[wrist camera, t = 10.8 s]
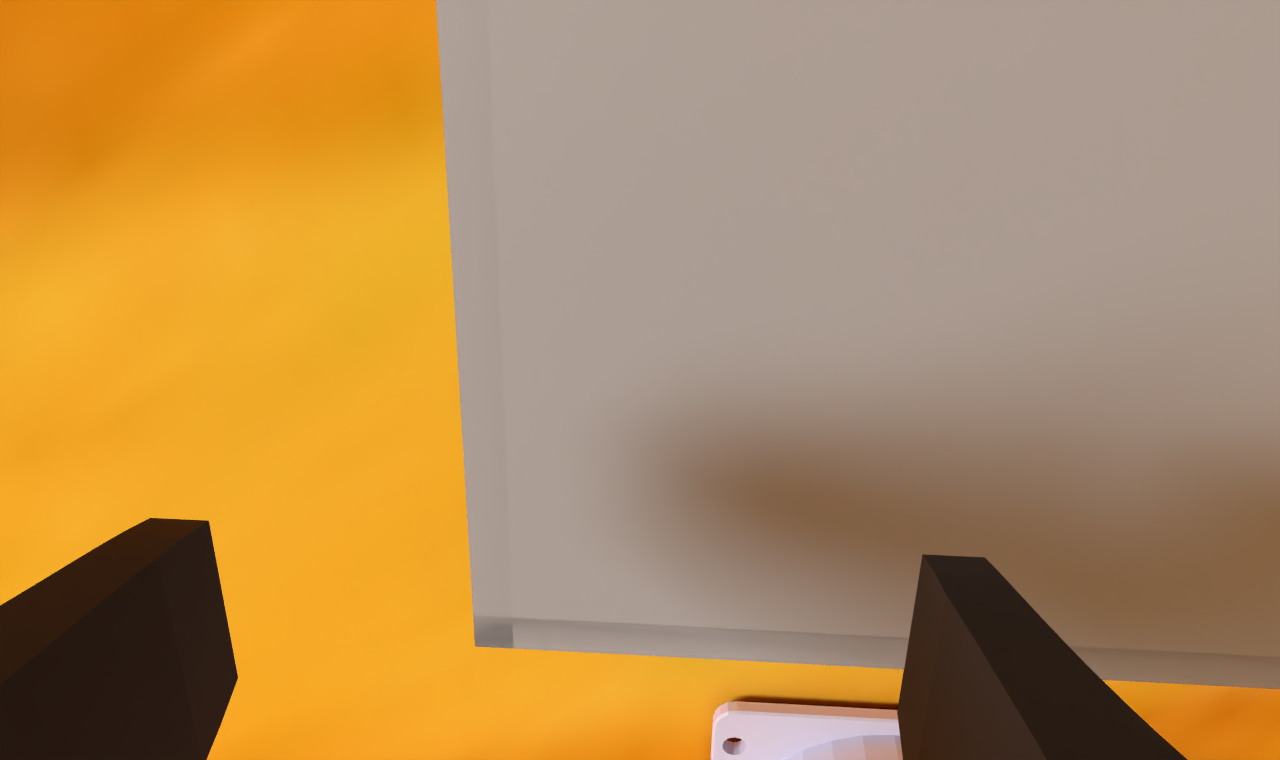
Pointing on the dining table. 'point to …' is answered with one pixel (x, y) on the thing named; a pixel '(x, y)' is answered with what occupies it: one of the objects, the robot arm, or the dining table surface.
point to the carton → (869, 322)
